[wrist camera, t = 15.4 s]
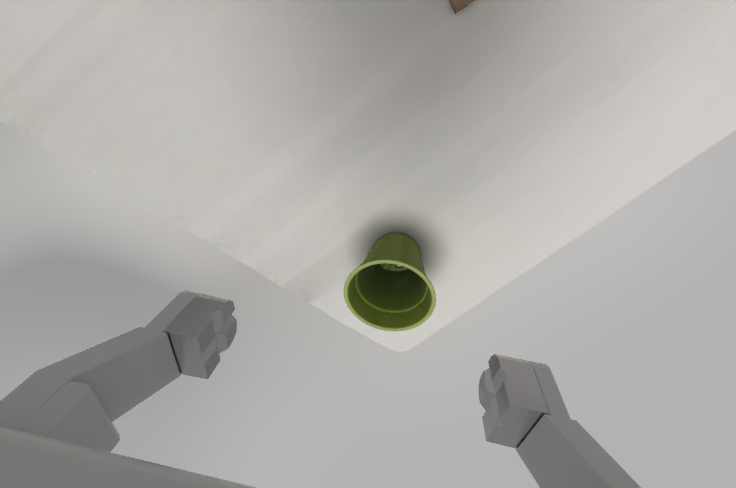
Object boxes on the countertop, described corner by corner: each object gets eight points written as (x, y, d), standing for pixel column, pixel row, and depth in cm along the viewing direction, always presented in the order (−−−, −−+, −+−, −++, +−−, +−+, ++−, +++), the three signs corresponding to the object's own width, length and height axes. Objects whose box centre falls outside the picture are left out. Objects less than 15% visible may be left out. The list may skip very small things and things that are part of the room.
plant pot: (397, 202, 45) (390, 243, 36) (449, 255, 49) (455, 305, 39) (343, 247, 51) (325, 292, 41) (393, 292, 54) (387, 343, 45)
